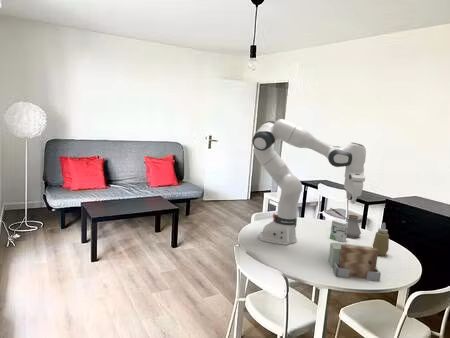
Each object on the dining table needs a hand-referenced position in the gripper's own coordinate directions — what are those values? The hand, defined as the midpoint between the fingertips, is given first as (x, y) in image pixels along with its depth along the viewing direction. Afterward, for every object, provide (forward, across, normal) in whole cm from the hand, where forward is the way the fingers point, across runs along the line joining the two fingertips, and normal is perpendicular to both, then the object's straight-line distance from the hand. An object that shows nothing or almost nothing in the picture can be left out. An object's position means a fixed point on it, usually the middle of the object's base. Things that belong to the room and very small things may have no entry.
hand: (350, 200), depth 171 cm
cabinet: (+31, +15, +1) cm, 35 cm away
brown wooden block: (+31, +20, +1) cm, 37 cm away
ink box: (+31, -27, +3) cm, 42 cm away
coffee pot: (+31, -39, +9) cm, 51 cm away
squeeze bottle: (+31, -10, +22) cm, 40 cm away
